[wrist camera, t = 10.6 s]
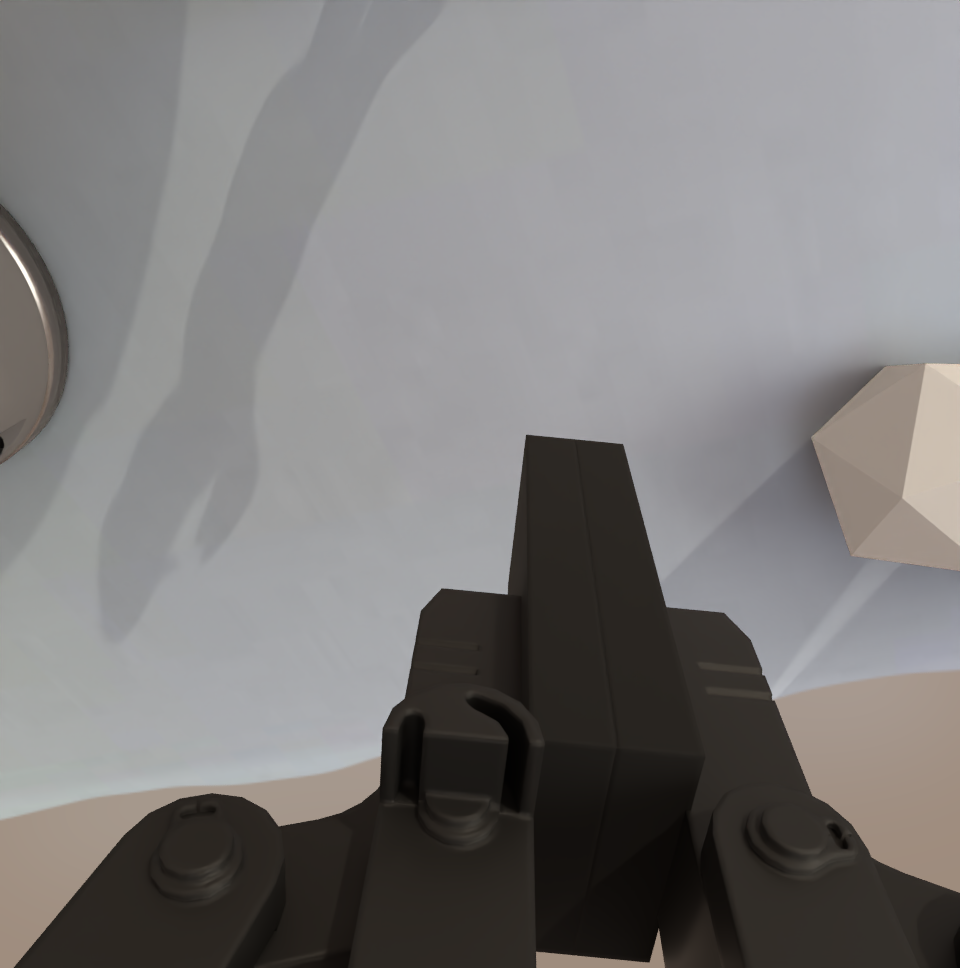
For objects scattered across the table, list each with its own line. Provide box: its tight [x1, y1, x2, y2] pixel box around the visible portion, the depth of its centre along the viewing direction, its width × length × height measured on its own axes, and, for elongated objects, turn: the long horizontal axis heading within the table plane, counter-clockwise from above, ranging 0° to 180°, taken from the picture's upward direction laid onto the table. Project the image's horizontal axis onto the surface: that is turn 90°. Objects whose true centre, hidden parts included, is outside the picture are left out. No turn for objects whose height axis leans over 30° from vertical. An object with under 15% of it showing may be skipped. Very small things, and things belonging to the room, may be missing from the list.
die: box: [811, 363, 960, 571], centre depth 35 cm, size 8×9×10 cm
